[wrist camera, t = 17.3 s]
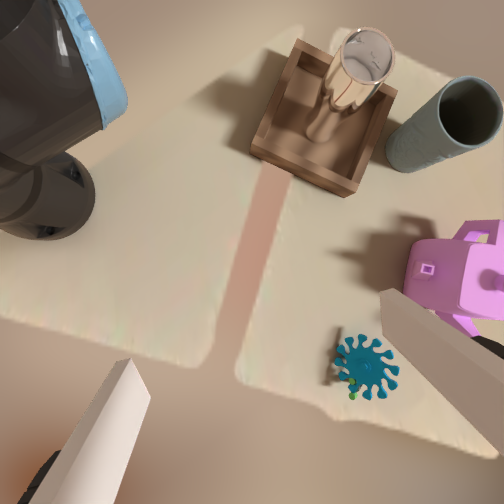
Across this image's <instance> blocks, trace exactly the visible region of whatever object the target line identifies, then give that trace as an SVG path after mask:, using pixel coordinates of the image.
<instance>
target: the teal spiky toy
mask: <svg viewBox="0 0 504 504" xmlns="http://www.w3.org/2000/svg"><path fill="white" fill-rule="evenodd" d="M358 340H359V344H358V347H357V348H356V349H355V348H353V346H352V344H353V342H354V339H353V337H348V338H345V342H346V343H347V344H348V346H349V350H350V353H349V354H346V352H345V347H344V346H343V345H340V346H338V347H337V349H336V350H337V351H338V352H339V353H341V354H342V355H343V356H344V357H345V359H346V360H347V364H345V363H343V361H342V359H341V358H339V357H337V358H336V359H335V363H334V364H335V365H336V366H343V367H345V368H346V369H348V370H349V374H346V373H345V372H343V371H341V372H339V378H340V380H342V381H343V380H345V379H346V378H350V379H349V383H350V385H349V386H348V388H349V390H350V391H351V393H350V394H349V398H350V399H351V400H354V399H355V398H356V397H357V393H356V392H358V391H359V390H360V388H361V387H362V385H363V384H365V385H366V386H367V387H368V390H366V391H364V392H363V394H362V396H363V397H364V398H365V399H368V400H371V398H372V393H371V389H372V386H373V384H376V385H377V386H378V387H379V391H378V393H377V396H378V397H379V398H381V399H384V398H387V392H386V391H385V390H384V389H383V387H382V383H381V379H382V378H384V379H386V380H387V382H388V387H389V389H390V390H394V389H396V387H397V386H398V384H397V382H395V381H394V380H392V379H390V378H389V377H388V376H387V374H386V373H385V371H384V368H388V369H389V370H390V371H391V373H392V374H393V375H395V376H397V375H398V374H399V370H400V368H399V367H398V366H391V365H388V364H386V363H384V362H383V361H382V360H381V357H382V356H384V357H386V358H387V359H393V358H394V355H393V353H392V351H391V350H387V351H386V352H384V353H375V352H374V351H373V347H380V346H381V345H382V343H381V342H380V341H379V340H378V339H377V338H376V339H374V340H373V341H372V344H371V346H369V347H368V348H364V347H363V346H362V343H363V342H364V341H366V340H367V336H365V335H362V334H359V335H358Z"/></svg>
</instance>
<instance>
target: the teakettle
mask: <svg viewBox="0 0 504 504" xmlns="http://www.w3.org/2000/svg"><path fill="white" fill-rule="evenodd" d="M481 234H489V236H488V240H487V243H480V242H476V240H477V239H478V238H479V236H480V235H481ZM403 294H404V295H405V296H407V297H408V298H410V299H411V300H413V301H414V302H416V303H417V304H419V305H420V306H423V307H425V308H428V309H431V310H435V313H436V314H437V315H438V316H439V317H440V318H441V319H442V320H443V321H445V322H446V323H448V324H449V325H451V326H453V327H454V328H456V329H457V330H459V331H460V332H462V333H463V334H465V335H466V336H468V337H469V338H470V337H474V336H478V335H479V336H481V335H480V334H479V332H478V330H477V329H476V327H475V326H474V324H473V323H472V321H471V318H480V319H491V320H503V321H504V221H503V220H474V221H465V222H464V224H463V225H462V226H461V228H460V229H459V230H458V232H457V233H456V234H455V236H454V237H453V238H452V239H423V240H419V241H417V242H415V243H413V244H412V247H411V250H410V254H409V258H408V263H407V268H406V273H405V279H404V286H403Z"/></svg>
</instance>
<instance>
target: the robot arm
mask: <svg viewBox="0 0 504 504" xmlns="http://www.w3.org/2000/svg"><path fill="white" fill-rule="evenodd" d="M127 105H128V97H127V94H126V90H125V88H124V86H123V83H122V81H121V79H120V76H119V74H118V72H117V70H116V68H115V66H114V64H113V62H112V60H111V58H110V56H109V54H108V52H107V50H106V49H105V47H104V45H103V43H102V41H101V39H100V37H99V36H98V34H97V32H96V30H95V29H94V27H93V26H92V25H91V24H90V20H89V18H88V17H87V15H86V13H85V12H84V9H83V7H82V5H81V3H80V2H79V0H0V229H2V230H4V231H6V232H8V233H10V234H13V235H15V236H18V237H21V238H25V239H31V240H57V239H61V238H64V237H67V236H69V235H71V234H73V233H74V232H76V231H77V230H78V229H80V228H81V227H82V226H83V225H84V224H85V222H86V221H87V220H88V218H89V217H90V215H91V213H92V210H93V207H94V203H95V188H94V183H93V180H92V178H91V176H90V174H89V172H88V171H87V169H86V168H85V167H84V165H83V164H82V163H81V162H80V161H78V160H77V159H76V158H74V157H73V156H71V155H70V154H68V153H66V152H65V151H66V150H67V149H69V148H71V147H72V146H74V145H76V144H77V143H79V142H81V141H82V140H84V139H86V138H87V137H89V136H91V135H92V134H94V133H95V132H97V131H99V130H105V128H106V127H107V125H108V124H109V123H111V122H112V121H113V120H115V119H117V118H118V117H120V116H121V115H123V114H124V113H125V111H126V109H127ZM379 293H380V306H381V320H382V333H383V336H384V337H385V338H386V339H387V340H388V341H389V342H390V343H391V344H392V345H393V346H394V347H395V348H396V349H397V350H398V351H399V352H400V353H401V354H402V355H403V356H404V357H405V358H406V359H407V360H408V361H409V362H410V363H411V364H412V365H413V366H414V367H415V368H416V369H417V370H418V371H419V372H420V373H421V374H422V375H423V376H424V377H425V378H426V379H427V380H428V381H429V382H430V383H431V384H432V385H433V386H434V387H435V388H436V389H437V390H438V391H439V392H440V393H441V394H442V395H443V396H444V397H445V398H446V399H447V400H448V401H449V402H450V403H451V404H452V405H453V406H454V407H455V408H456V409H457V410H458V411H459V412H460V413H461V414H462V415H463V416H464V417H465V418H466V419H467V420H468V421H469V422H470V423H471V424H472V425H473V426H474V427H475V428H476V429H477V430H478V431H479V433H480V434H481V435H482V436H483V437H484V438H485V439H486V440H487V441H488V442H489V443H490V444H491V445H492V446H493V447H494V448H495V449H496V450H497V451H498V452H499V453H500V454H501V455H502V456H503V457H504V346H503V345H501V344H499V343H498V342H495V341H492V340H490V339H487V338H484V337H482V336H479V335H478V336H474V337H470V338H469V337H468V336H466V335H465V334H463V333H462V332H460V331H459V330H457V329H456V328H454V327H453V326H451V325H449V324H448V323H446V322H445V321H443V320H442V319H440V318H439V317H437V316H436V315H434V314H433V313H431V312H430V311H428V310H427V309H425V308H423V307H422V306H420V305H419V304H417V303H416V302H414V301H413V300H411V299H410V298H408V297H407V296H405V295H404V294H402V293H401V292H399V291H397V290H396V289H394V288H391V289H388V290H384V291H380V292H379ZM150 399H151V397H150V395H149V393H148V391H147V389H146V387H145V385H144V383H143V381H142V379H141V377H140V375H139V373H138V371H137V369H136V367H135V365H134V363H133V361H132V359H131V358H129V359H125V360H121V361H118V362H116V363H115V365H114V366H113V368H112V369H111V371H110V373H109V374H108V376H107V378H106V379H105V381H104V383H103V384H102V386H101V387H100V389H99V390H98V392H97V394H96V395H95V397H94V399H93V400H92V402H91V403H90V405H89V407H88V408H87V410H86V411H85V413H84V415H83V416H82V418H81V420H80V421H79V423H78V424H77V426H76V428H75V429H74V431H73V433H72V434H71V436H70V437H69V439H68V441H67V442H66V444H65V445H64V447H63V449H62V450H59V451H56V452H55V453H54V454H53V455H52V456H51V457H50V458H49V460H48V461H47V462H46V463H45V464H44V465H43V466H42V467H41V468H40V470H39V471H38V473H37V474H36V476H35V477H34V479H33V480H32V482H31V483H30V485H29V486H28V488H27V492H24V494H23V496H22V497H21V499H20V500H19V502H18V503H17V504H113V503H114V500H115V497H116V494H117V492H118V489H119V486H120V483H121V480H122V478H123V475H124V472H125V469H126V466H127V464H128V461H129V458H130V455H131V452H132V450H133V447H134V444H135V441H136V438H137V436H138V433H139V430H140V427H141V424H142V422H143V419H144V416H145V413H146V410H147V408H148V405H149V402H150Z"/></svg>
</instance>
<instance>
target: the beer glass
mask: <svg viewBox="0 0 504 504" xmlns="http://www.w3.org/2000/svg"><path fill="white" fill-rule="evenodd" d="M394 64H395V51H394V48H393V45H392V43H391V41H390V40H389V38H388V37H387V36H386V35H385V34H384V33H382V32H381V31H379V30H377V29H375V28H371V27H361V28H357V29H355V30H353V31H351V32H350V33H349V34H348V35H347V36H346V37H345V39H344V41H343V43H342V44H341V46H340V48H339V49H338V51H337V52H336V54H335V55H334V57H333V59H332V60H331V62H330V64H329V66H328V67H327V69H326V71H325V74H324V76H323V78H322V81H321V83H320V86H319V90H318V93H317V96H316V100H315V103H314V106H313V107H312V108H311V109H310V110H309V112H308V113H307V114H306V115H305V117H304V119H303V131H304V133H305V135H306V136H307V138H308V139H310V140H311V141H313V142H316V143H324V142H327V141H328V140H330V139H331V138H332V137H333V136H334V134H335V132H336V130H337V128H338V126H339V125H340V124H341V123H343V122H344V121H345V120H347V119H348V118H350V117H351V116H352V115H354V114H355V113H356V112H357V111H359V110H360V109H361V108H362V107H363V106H364V105H365V104H366V103H367V102H368V101H369V100H370V99H371V97H372V96H373V95H374V94H375V93H376V91H377V90H378V89H379V87H380V86H381V85H382V83H383V82H384V81H385V79H386V78H387V77H388V76H389V75H390V73H391V72H392V70H393V67H394Z"/></svg>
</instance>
